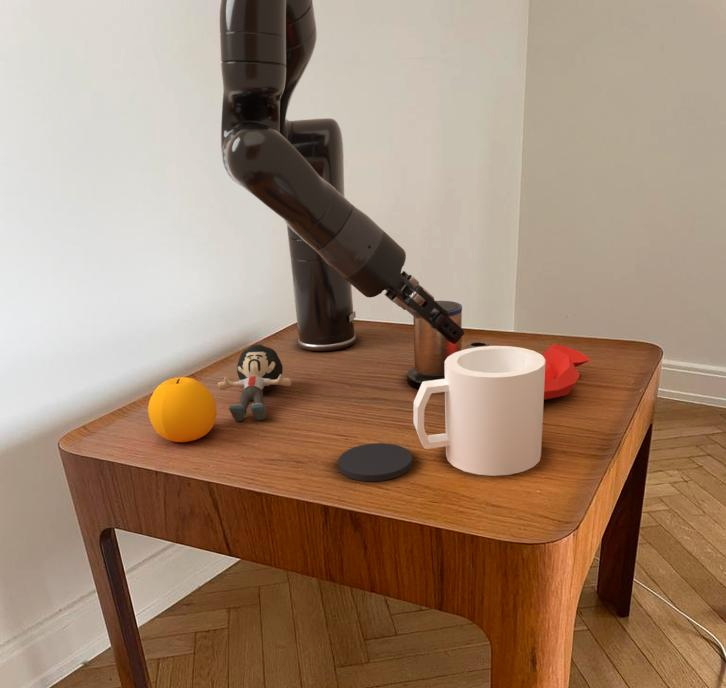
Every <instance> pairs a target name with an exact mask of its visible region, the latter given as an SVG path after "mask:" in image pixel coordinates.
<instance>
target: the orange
mask: <svg viewBox="0 0 726 688" xmlns="http://www.w3.org/2000/svg"><path fill="white" fill-rule="evenodd" d="M147 412H148V418H149V421H150V423H151V426H152V427H153V430H154V431H155V432H156V433H157V434H158V435H159V436H160V437H162V438H163V439H165V440H167V441H170V442H175V443H187V442H193V441H196V440H199V439H201V438H203V437H204V436H206V435H207V434H208V433H209V432H210V431H212V429H213V427H214V425H215V422H216V418H217V414H218V409H217V403H216V399H215V398H214V395H213V394H212V393H211V391H210V389H208V387H207V386H206V385H205V384H203V383H202V382H201V381H199V380H197V379H195V378H192V377H187V376H182V377H181V376H180V377H173V378H170V379H167V380H164V381H163V382H162V383H160V384H159V385H158V386H157V387H156V388H155V390H154V391H153V393H152V395H151V396H150V398H149V401H148V405H147Z"/></svg>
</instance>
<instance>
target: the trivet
mask: <svg viewBox="0 0 726 688" xmlns="http://www.w3.org/2000/svg"><path fill="white" fill-rule="evenodd" d="M337 462H338V470H339V472H340V473H341V474H342V475H344V476H345V477H347V478H349V479H351V480H355V481H360V482H383V481H388V480H392V479H393V480H394V479H396V478H398V477H401V476H403V475H405V474H407V473H408V472H409V471H410V470H411V469H412V467H413V454H412V453H411V451H410V450H409V449H407V448H405V447H403V446H401V445H397V444H393V443H386V442H385V443H383V442H381V443H380V442H375V443H365V444H361V445H357V446H354V447H352V448H349V449H347V450H345V451H344V452H343V453H342V454H341V455H340V456H339V458H338V461H337Z"/></svg>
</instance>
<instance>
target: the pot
mask: <svg viewBox="0 0 726 688" xmlns="http://www.w3.org/2000/svg"><path fill="white" fill-rule="evenodd" d="M435 301H436V302H437V303H438V304H439V305H440V306H441V307H442V308H443V309H444V310H445V309H446V310H447V311H448V312H447V313H449V315H448V317H450V318H451V319H452V320H453V321H454V322H455V323H456V324H457V325H458V326H459V327H461V328H462V329H463V327H462V321H463V320H462V319H463V318H462V317H463V316H462V315H463V305H462V303H459V302H456V301H451V300H435ZM413 310H414V309H413ZM414 311H415V310H414ZM437 312H438V311H437V310H436V309H435V308H434V309H433V310H432V311H431V313H430V314H429V318H430V319H432V318H433V316H434V315H435V314H436V313H437ZM412 317H413V354H414V355H413V357H414V359H413V360H414V367H415V371H416V372H418V373H420V374H424V375H430V376H443V375H445V364H444V362H445V360H446V358H447V357H448V356H450V355H452V354H453V353H455V352H458V351H461V350H462V337H461V338H460V340H459V341H458V342H457V343H456V344H452V343H451V342H450V341H449V340H448V339H446V338H445V337H444V336H443V335H442V334H441V333H440V332H439V331H437V330H436V329H434V328H431V327H430V326H429V324H428V323H427V322H426V321H425V320H424V319H422V318H420V319H416V318H415V317H414V316H413V315H412Z"/></svg>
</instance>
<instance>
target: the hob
mask: <svg viewBox="0 0 726 688" xmlns="http://www.w3.org/2000/svg"><path fill="white" fill-rule="evenodd" d="M439 379H445V375H443V376H430V375H424V374H420V373H418V372H416V371H415V366H414V367H411V368H410V369H409V370H408V371H407V372H406V382H407V385H408V386H409V387H411V388H412V389H415V390H416V391H419V389H420V386H421V384H422V382H423V381H431V380H439Z"/></svg>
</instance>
